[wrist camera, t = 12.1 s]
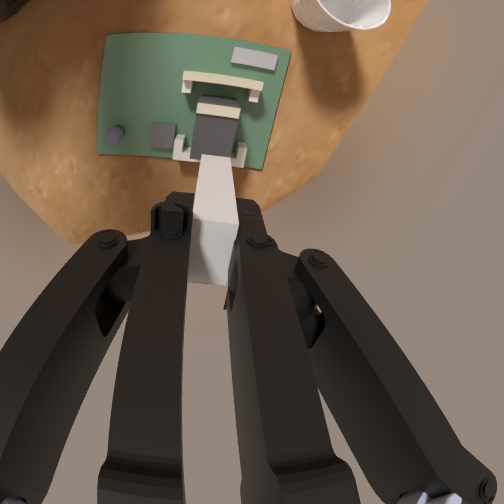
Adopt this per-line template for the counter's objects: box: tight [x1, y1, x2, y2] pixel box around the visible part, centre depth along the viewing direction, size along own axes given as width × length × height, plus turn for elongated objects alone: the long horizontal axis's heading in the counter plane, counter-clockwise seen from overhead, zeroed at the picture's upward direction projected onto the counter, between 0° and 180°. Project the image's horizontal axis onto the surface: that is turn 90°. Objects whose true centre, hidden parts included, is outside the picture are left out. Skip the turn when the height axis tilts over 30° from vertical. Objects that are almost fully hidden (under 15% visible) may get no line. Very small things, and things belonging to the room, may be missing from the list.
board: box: [97, 33, 291, 169], centre depth 27 cm, size 22×16×3 cm
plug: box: [190, 94, 241, 160], centre depth 27 cm, size 4×6×7 cm, turn 168°
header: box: [172, 71, 264, 168], centre depth 28 cm, size 8×11×4 cm
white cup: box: [291, 0, 391, 32], centre depth 18 cm, size 8×8×10 cm
